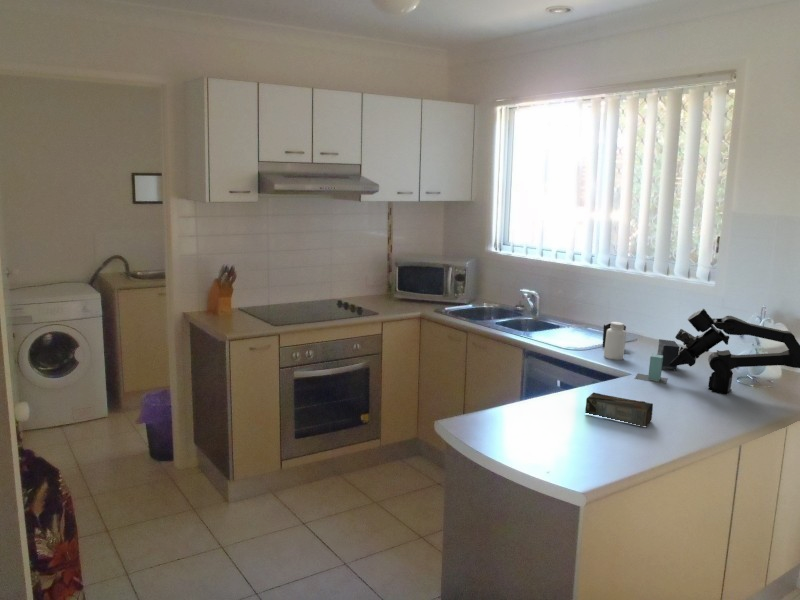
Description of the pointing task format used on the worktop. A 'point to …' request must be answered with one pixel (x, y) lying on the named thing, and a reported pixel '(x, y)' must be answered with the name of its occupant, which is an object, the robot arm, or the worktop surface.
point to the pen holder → (606, 331)
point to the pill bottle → (615, 341)
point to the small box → (668, 353)
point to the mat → (645, 378)
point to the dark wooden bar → (619, 409)
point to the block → (655, 367)
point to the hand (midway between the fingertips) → (670, 365)
